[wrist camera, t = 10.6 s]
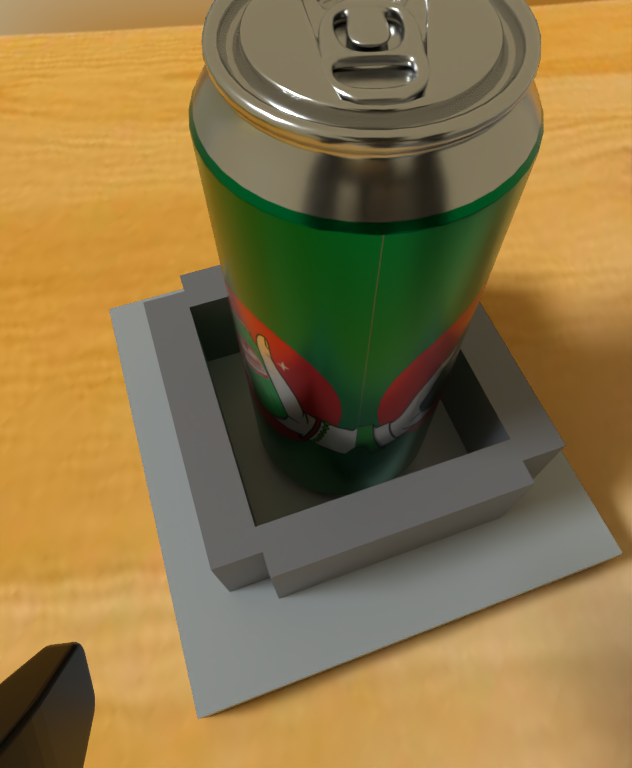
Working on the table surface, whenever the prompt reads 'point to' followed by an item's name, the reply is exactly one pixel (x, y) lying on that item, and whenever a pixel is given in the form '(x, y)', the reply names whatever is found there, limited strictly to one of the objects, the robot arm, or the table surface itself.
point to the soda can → (360, 208)
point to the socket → (336, 507)
